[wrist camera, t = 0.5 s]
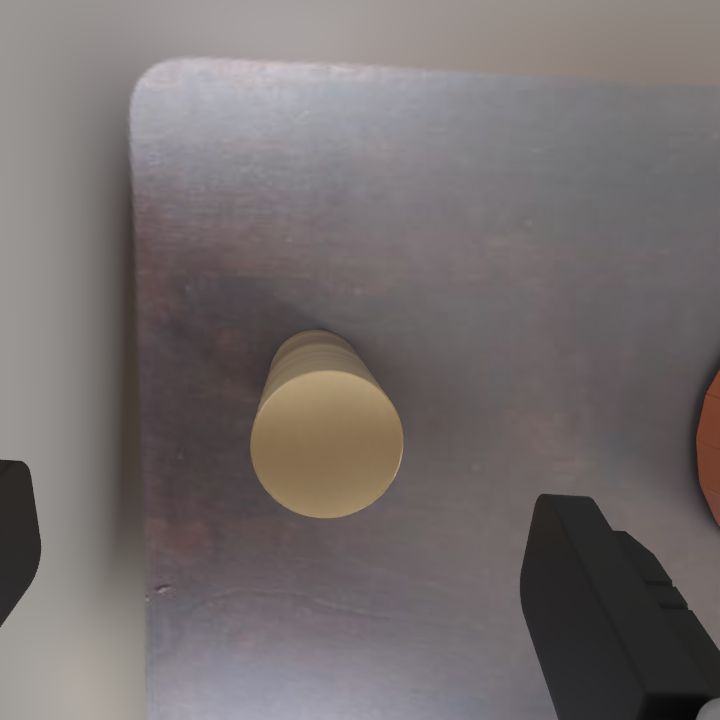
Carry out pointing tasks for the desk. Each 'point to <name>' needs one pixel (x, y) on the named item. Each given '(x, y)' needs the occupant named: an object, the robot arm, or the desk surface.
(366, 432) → the tan cylinder
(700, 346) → the desk surface
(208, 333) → the desk surface
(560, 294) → the desk surface
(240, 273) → the desk surface
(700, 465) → the clay bowl
